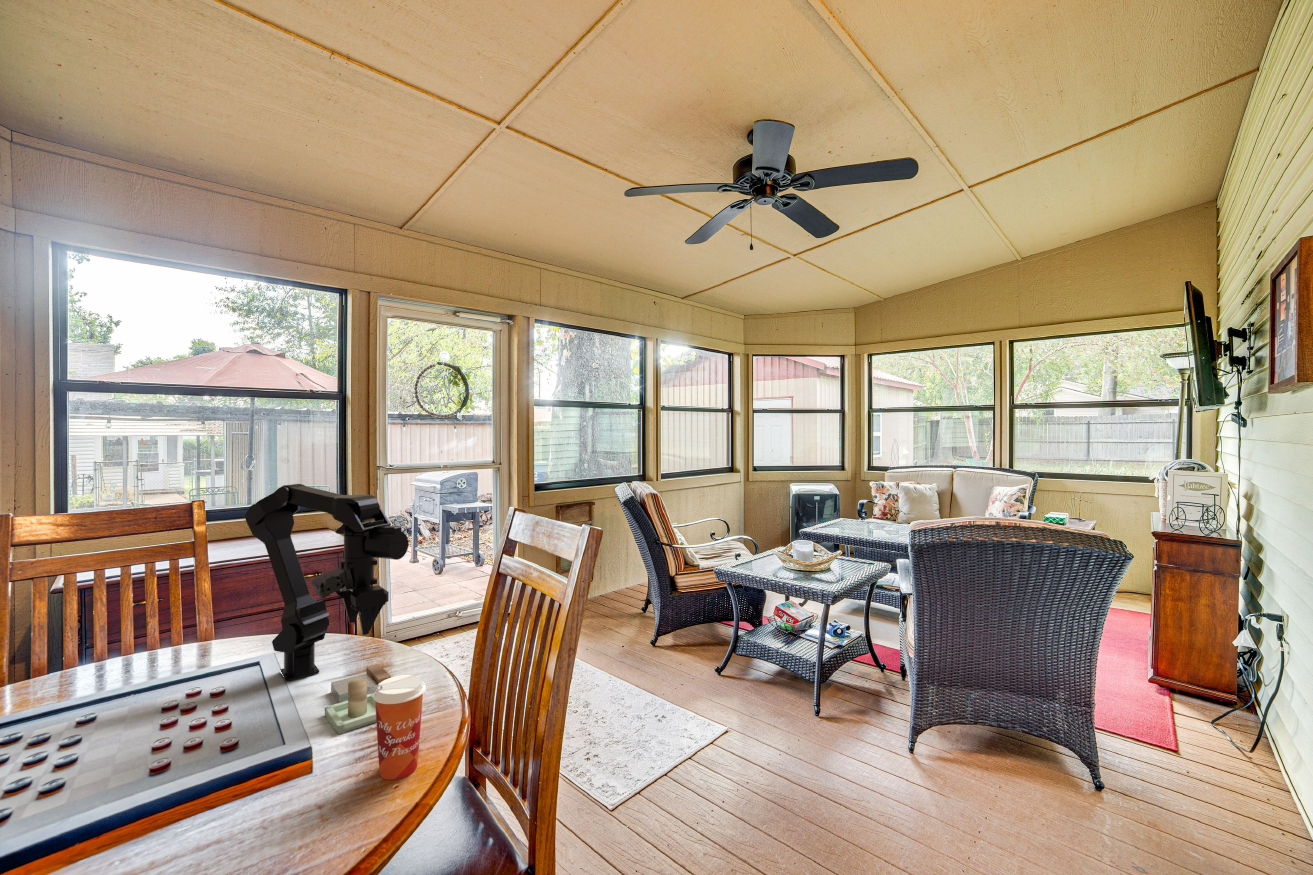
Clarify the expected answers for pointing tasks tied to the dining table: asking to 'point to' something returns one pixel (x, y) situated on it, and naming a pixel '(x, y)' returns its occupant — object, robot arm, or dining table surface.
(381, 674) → the block
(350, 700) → the dowel
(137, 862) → the dining table surface
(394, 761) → the paper cup
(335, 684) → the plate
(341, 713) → the tray
